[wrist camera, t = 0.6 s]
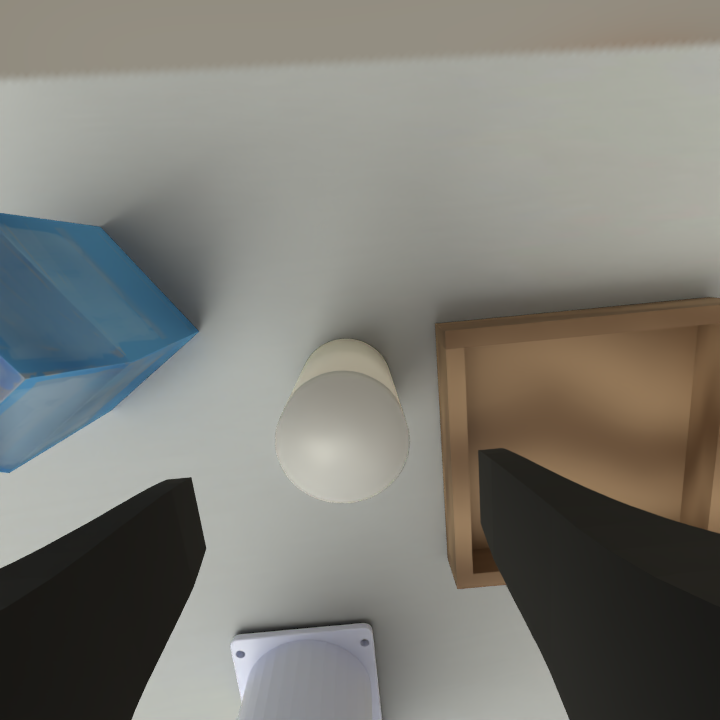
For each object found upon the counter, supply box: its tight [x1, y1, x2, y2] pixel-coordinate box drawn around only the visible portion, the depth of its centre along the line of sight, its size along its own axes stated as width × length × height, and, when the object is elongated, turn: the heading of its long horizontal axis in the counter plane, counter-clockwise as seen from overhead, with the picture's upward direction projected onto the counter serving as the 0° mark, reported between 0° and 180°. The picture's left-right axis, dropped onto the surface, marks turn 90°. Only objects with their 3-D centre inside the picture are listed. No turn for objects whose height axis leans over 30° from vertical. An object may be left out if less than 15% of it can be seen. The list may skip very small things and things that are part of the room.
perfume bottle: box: [0, 213, 199, 473], centre depth 14 cm, size 6×6×12 cm
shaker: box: [275, 339, 409, 503], centre depth 17 cm, size 4×4×7 cm
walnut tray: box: [435, 297, 720, 589], centre depth 20 cm, size 13×13×2 cm
